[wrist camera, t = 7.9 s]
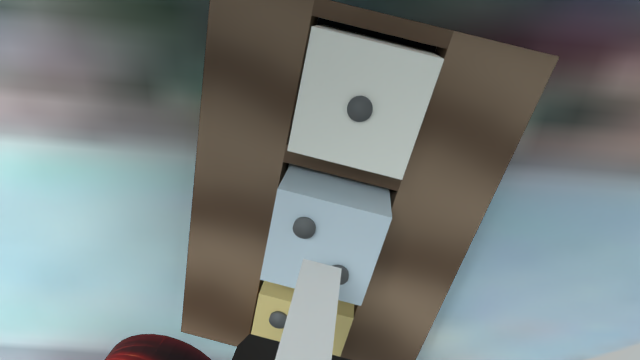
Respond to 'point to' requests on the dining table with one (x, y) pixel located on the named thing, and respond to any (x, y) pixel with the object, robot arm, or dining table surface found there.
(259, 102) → the board
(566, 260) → the dining table surface
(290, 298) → the tile
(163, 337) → the mug
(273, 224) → the two-dot tile
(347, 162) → the tile
